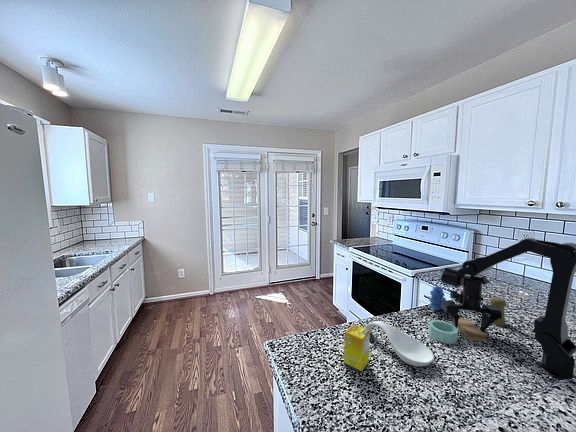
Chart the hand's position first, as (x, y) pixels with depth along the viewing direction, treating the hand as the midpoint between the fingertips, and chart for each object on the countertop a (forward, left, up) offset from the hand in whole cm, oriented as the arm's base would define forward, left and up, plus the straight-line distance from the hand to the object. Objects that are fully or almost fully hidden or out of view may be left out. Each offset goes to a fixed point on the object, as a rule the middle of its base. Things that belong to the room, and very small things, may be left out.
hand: (468, 330), depth 94 cm
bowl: (-6, +11, -1) cm, 13 cm away
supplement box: (-28, +44, -1) cm, 53 cm away
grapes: (+17, +4, -1) cm, 18 cm away
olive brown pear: (+11, -16, -1) cm, 19 cm away
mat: (0, 0, -1) cm, 1 cm away
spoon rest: (-18, +31, -2) cm, 36 cm away
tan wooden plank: (0, 0, 0) cm, 0 cm away
